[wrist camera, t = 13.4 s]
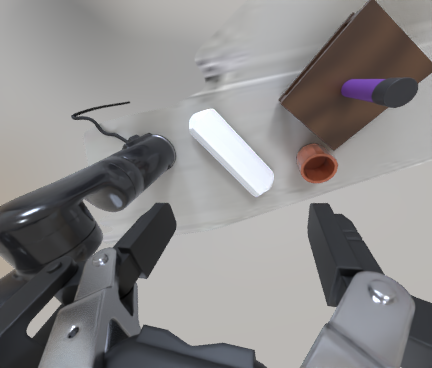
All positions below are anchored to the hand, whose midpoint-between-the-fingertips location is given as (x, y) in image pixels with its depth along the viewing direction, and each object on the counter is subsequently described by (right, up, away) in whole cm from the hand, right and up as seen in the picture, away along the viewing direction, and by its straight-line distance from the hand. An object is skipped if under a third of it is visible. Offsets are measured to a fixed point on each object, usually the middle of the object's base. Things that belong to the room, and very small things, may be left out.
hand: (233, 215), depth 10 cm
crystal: (+3, +10, +32) cm, 33 cm away
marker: (+18, +15, +15) cm, 28 cm away
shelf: (+20, +19, +21) cm, 35 cm away
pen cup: (+20, +8, +28) cm, 35 cm away
